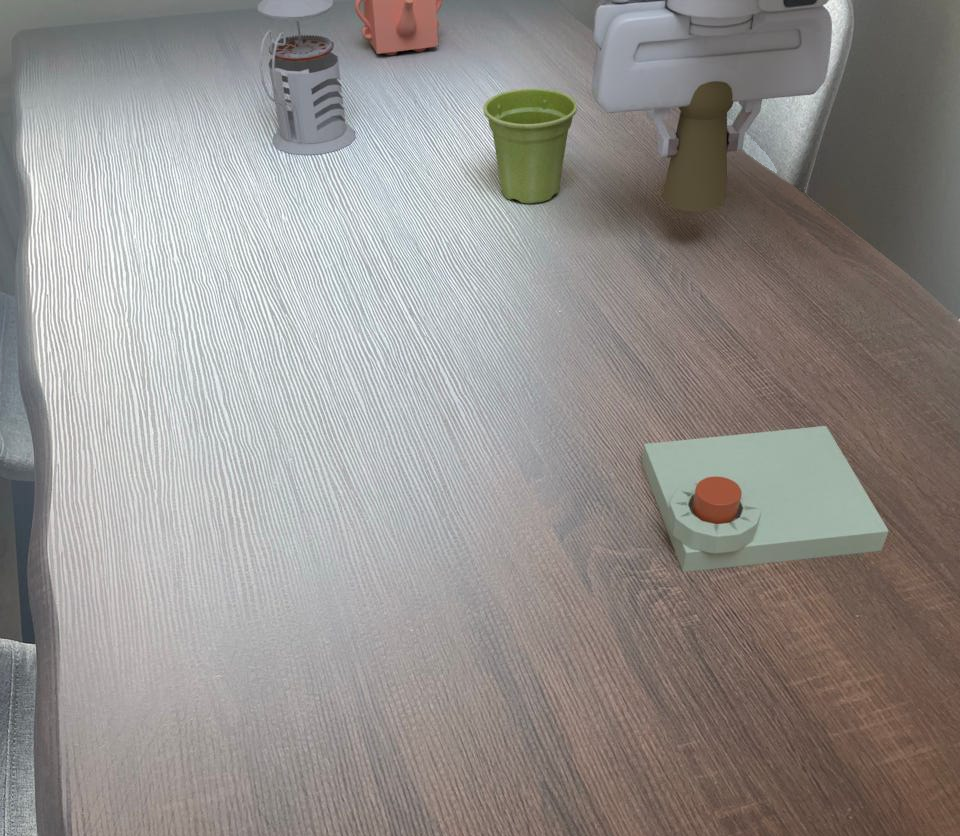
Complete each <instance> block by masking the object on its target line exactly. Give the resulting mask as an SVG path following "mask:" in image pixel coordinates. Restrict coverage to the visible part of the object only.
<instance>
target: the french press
mask: <svg viewBox="0 0 960 836" xmlns="http://www.w3.org/2000/svg"><path fill="white" fill-rule="evenodd" d="M333 1H334V0H261V1H260V2H259V3H258V4H257V12H258V13H259V14H260V15H261V16H262V17H263V18H265V19H268V20H272V21H276V22H277V21H278V22H296V26H297V32H298V35H297V34H295V35H292V36H291V35H290V36H286V34H285V32H284V31H282V32H279V34H278V36H277V38H276V39H274V35H273V32H272V29H270V30H269V29H268V30H267V31H266V32H265V34H264V35H263V38H262V40H261V43H260V44H261V45H260V50H259V62H258V64H259V65H258V67H259V73H260V79H261V84H262V87H263V90H264V92H265V93H266V96H267V97H268V98H269V100H270V101H271V102H273V103H274V105H275V113H276V118H277V124H278V129H277V131H276V132H275V133H274V135H272V145H273V146H274V147H275V148H276V149H277V150H279V151H282V152H285V153H288V154H291V155H302V156H311V155H322V154H328V153H331V152H335V151H339V150H341V149H343V148H345V147H347V146H349V145H351V143H352V142H353V141H354V140H355V139H356V131H355V129H353V128H352V127H351V126H350V125H349V124H348V123H347V122H346V118H344V117H345V116H346V114H345V107H344V106H343V105H344V97H343V94H341V93H343V90H342V84H341V83H340V81H341V71H340V63H339V57H338V55H336V54H335V53H334V52H332V51H333V50H334V47H335V46H334V42H333V41H332V40H331V39H330V38H329V37H326V36H322V35H317V34H315V35H314V34H313V35H312V34H307V35H306V34H304V35H303V34H301V27H300V21H303V20H309V19H314V18H317V17H320V16H323V15H325V14H326V13H328V12H329V11H330V10H331V9H332V8H333V5H334V2H333ZM268 35H269V36H270V40H271V42H272V43H271V44H270V45H269V47H268V53H269V54H270V55H271V56H272V57H271V58H270V60H269V62H268V69H269V75H270V81H271V88H272V93H273V97H272V96H271V95H270V93H269V91H268V88H267V86H266V82H265V77H264V72H263V60H262V59H263V51H264V45H265V41H266V38H267V37H268ZM276 69H280V70H283V71H287V72H303V71H306V70H308V73H307V72H306V73H286V75H283V74H282V72H280V71H277V70H276ZM284 83H287V85H288V87H286V86H285V87H284ZM286 95H289V99H287V98H286ZM287 106H289V107H291V110H288V107H287Z"/></svg>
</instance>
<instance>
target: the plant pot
mask: <svg viewBox="0 0 960 836" xmlns="http://www.w3.org/2000/svg"><path fill="white" fill-rule="evenodd" d="M482 110H483V115H484V116H485V117H486V119H487V121H488V125H489V128H490V131H491V132H492V138H493V145H494V150H495V157H496V163H497V169H498V170H497V171H498V177H499V184H500V191H501V194H502V195H503V196H504V198H506V199H508V200H517V201H519V202H520V203H522V204H537V203H543V202H546V201H549V200H551V199H552V197H553V196H554V195H557V194H558V193H559V191H560V185H561V179H562V171H563V166H564V160H565V159H564V158H565V152H566V146H567V141H568V135H569V130H570V128H571V126H572V122H573V117H575V115H576V114H577V111H578V103H577V101H576V100H575V99H574V98H573V97H572V96H570V95H568V94H566V93H564V92H561V91H558V90H553V89H545V88H521V89H513V90H508V91H504V92H501V93H497V94H496V95H494V96H492V97H490V98H489V99H488V100H486V101H485V102H484V104H483V107H482Z"/></svg>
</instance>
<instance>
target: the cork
mask: <svg viewBox="0 0 960 836" xmlns="http://www.w3.org/2000/svg"><path fill="white" fill-rule="evenodd" d="M732 96H733V95H732V89H731V87H730V86H729V85H728V84H727V83H725V82H720V81H714V82H708V83H705V84H702V85H700V86H699V87H698V88H697V90H696V91H695V92H694V95H693V97H692V99H691V102H690V104H689V105H688V106H683V107H678V109H679V111H680V113H679V118H678V122H677V126H676V130H675V132H676V135H678V137H679V146H678V147H677V150H678V155H677V156H674V157H669V163H668V167H667V171H666V176H665V181H664V185H663V189H662V195H661V197H662V200H663V202H664V203H665V204H667V205H668V206H670V207H672V208H674V209H678V210H682V211H685V212H686V211H688V212H705V211H711V210H714V209H717V208H719V207H721V206H723V205H724V204H725V203H726V201H727V197H728V152H727V125H728V113H729V111H730V110H731V109H732V108H733V105H734V102H733V101H732Z"/></svg>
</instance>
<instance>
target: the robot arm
mask: <svg viewBox="0 0 960 836" xmlns="http://www.w3.org/2000/svg"><path fill="white" fill-rule="evenodd" d="M609 1H610V0H599V1H598V3H597V4H596V6H595V8H594V10H593V16H592V38H593V42H594V43H595V45H596V48H595V54H594V61H593V67H592V77H591V94H592V97H593V99H594V101H595V103H596V104H597V106H598V107H599V108H600V110H602V111H603V112H604V113H605V114H619V113H629V112H638V111H639V112H640V111H647V113H648V116H649V117H650V120H651V121H652V123H653V125H654V127H655V129H656V131H657V133H658V138H657V152H658V153H657V154H658V155H659V157H660V158H661V159H666V158H671V157H674V156H677V155H678V150H677V147H678V146H679V137H678V135H676V130H674V129H673V130H668V129H667V127H666V125H665V123H664V121H668V120H669V119H670V113H671V108H672V109H673V108H679V107H683V106H688V105H689V104H690V102H691V99H692V97H693V95H694V92H695V91H696V90H697V88H698V87H699V86H700V85H702V84H705V83H708V82H714V81H720V82H725V83H727V84H728V85H729V86H730V87H731V89H732V95H733V96H732V101H733V103H737V102H738V103H739V105H740V106H741V109H740V111H739V112H738V114H737V116H736V117H735V119H734V121H733V122H732V124H727V153H729V152H737V151H739V152H740V151H742V150H743V147H744V140H745V133H746V132H747V131H748V130H749V129H750V127H751V126H752V124H753V123H754V121H755V120H756V118H757V117H758V116H759V114H760V113H761V108H762V103H763V100H768V99H779V98H789V97H801V96H810V95H811V96H812V95H814V94H815V93H817V92H818V91H819V90H820V88H821V87H822V86H823V84H824V83H825V81H826V78H827V75H828V70H829V64H830V57H831V49H832V37H833V36H832V35H833V21H832V17H831V14H830V12H829V10H828V9H827V8H826V7H825V6H824V5H826V4H828V3H829V1H830V0H611V2H609Z"/></svg>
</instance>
